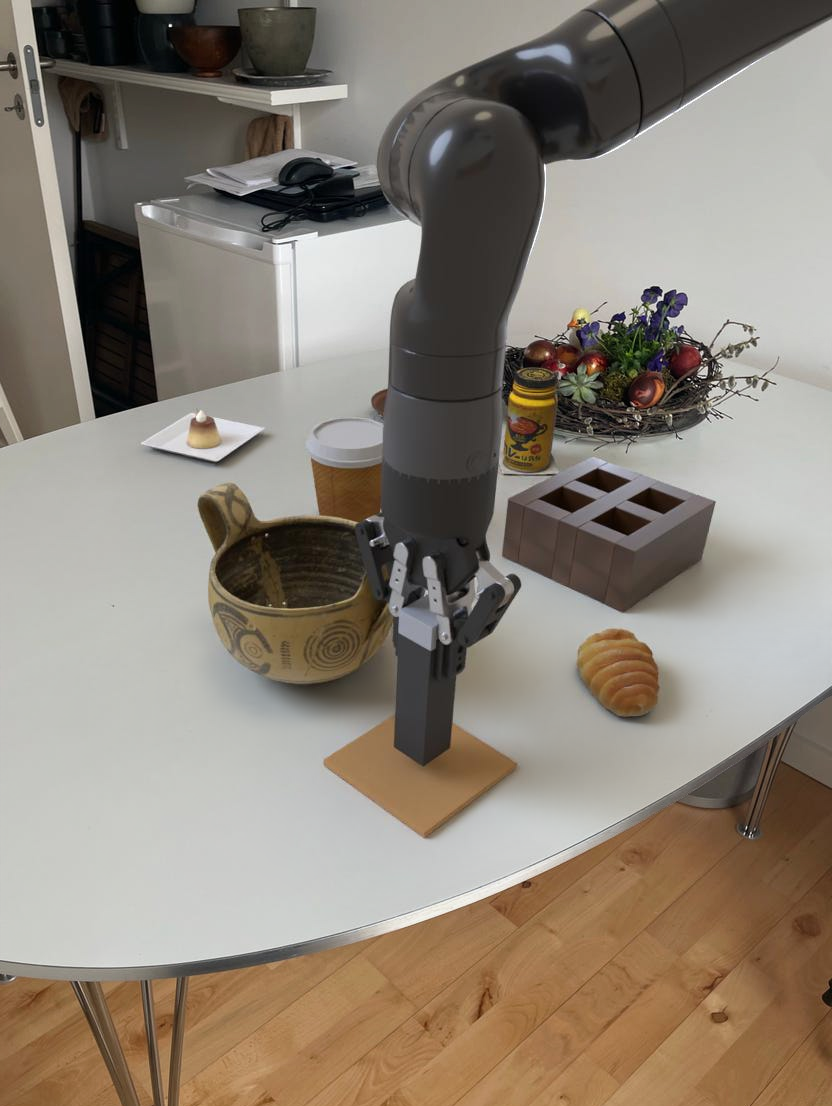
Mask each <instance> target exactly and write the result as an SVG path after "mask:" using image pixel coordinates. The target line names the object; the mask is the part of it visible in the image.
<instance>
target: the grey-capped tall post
mask: <svg viewBox="0 0 832 1106" xmlns="http://www.w3.org/2000/svg"><path fill="white" fill-rule="evenodd" d="M455 620H456V619H455V612H454V614H453V621H455ZM398 633H399V634H398V655H397V657H396V659H397V661H396V679H395V680H396V681H395V683H396V684H395V685H396V686H395V704H394V705H395V707H394V708H395V709H394V715H395V728H394V748H396V749H397V750H399V751H400V752H402V753H403V754H405V755H406V756H408V757H409V758H411V759H412V760H414V761H415V762H417V763H418V764H420V765H421V766H425V765H426V764H428V763H429V762H431V761H432V760H434V759H435V758H436V757H438V756H439V755H441V754H442V753H444V752H445V751H447V750H448V749H449V748H450V744H451V733H452V723H453V720H454V719H453V718H454V708H455V697H456V696H455V695H456V684H457V675H456V676H455V677H453V678H452V679H450V680H448V681H447V682H445V683H441V682H439V681H437V680H436V679H434V665H435V651H436V640H437V639H439V638H438V633H437V623H436V615H435V613H432V612H431V611H430V605H429V596H428V594H425V595H424V597H422V598H421V599H419V600H417V601H415V602H413V603H411V604H410V605H408V606H406V607H404V608H402V609H400V610H399V630H398Z"/></svg>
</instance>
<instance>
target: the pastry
mask: <svg viewBox="0 0 832 1106" xmlns="http://www.w3.org/2000/svg"><path fill="white" fill-rule="evenodd" d="M576 669H577V672H578V673H579V674H578V675H579V676H580V679H581V681H582V682H583V683H584V685H585V687H586V688H587V689H588V690H589V692H590V694H592V697H594V698H595V699H596V701H597V702H599V704H600V705H601V706H602V707H603V708H604V709H606V710H608V711H610V712H612V713H613V714H614V715H615V716H617V717H623V718H626V717H641V716H644V715H647V714H649V713H650V711H651V710H653V708H654V707H656V706H657V705H658V703H659V700H658V699H659V696H658V695H659V691H660V685H659V674H660V673H659V667H658V665H657V663H656V661H655V659H654V653H653V651H652V649H651V648H650V647H649V646H648V644H647V643H646V642H643V641H639V639H637V637H636V636H635V633H633V632H631V631H630V630H627V629H623V628H607V629H605V630H603V631H601V632H596V633H593V634H591V635H590V636H589V637H587V638H586V640H584V641H583V642H582V644H580V645H579V647H578V649H577V660H576Z"/></svg>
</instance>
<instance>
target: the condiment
mask: <svg viewBox="0 0 832 1106" xmlns="http://www.w3.org/2000/svg"><path fill="white" fill-rule="evenodd" d="M557 384H558V375H557V373H556V372H555V371H554V370H551V369H548V368H544V367H537V366H535V367H532V366H531V367H523V368H521V369H519V370H517V371H516V372H515V373H514V376H513V384H512V389H513V390H512V391H511V392H510V394H509V396H508V405H507V415H506V419H505V420H506V425H505V432H504V440H503V446H500V454H499V464H498V466H499V468H500V473H501V474H503V475H527V476H528V475H529V476H530V475H548V474H549V475H557V474H559V473H561V471H559V468H558V466H557V463H556V461H555V458H554V456H553V453H552V451H553V444H554V435H555V429H556V428H555V427H556V420H557V412H558V405H559V404H558V403H559V397H558V395H557V393H556V392H557V390H558V386H557Z"/></svg>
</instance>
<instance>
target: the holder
mask: <svg viewBox="0 0 832 1106" xmlns="http://www.w3.org/2000/svg"><path fill="white" fill-rule="evenodd" d="M716 502H717V501H716V500H713V499H711V498H708V497H706V496H702V495H700V494H696V493H695V492H694V493H693V492H691V491H689V490H685V489H682V488H680V487H677V486H674V485H672V484H669V483H667V482H664V481H660V480H658V479H656V478H653V477H650V476H647V475H645V474H642V473H638V472H636V471H633V470H631V469H627V468H625V467H623V466H620V465H616V464H614V463H611V462H608V461H605V460H603V459H600V458H597V457H594V456H591V457H589V458H587V459H585V460H583V461H580V462H579V463H577V464H575V465H572V466H571V467H569V468H566V469H564V470H563V471H560V473H559V474H554V475H553V476H551V477H548V478H547V479H544V480H543V481H541V482H539V483H536V484H535V485H532V486H531V487H528V488H527V489H525V490H522V491H520V492H519V493H516V494H514V495H512V496H510V497H509V498H507V505H506V516H505V523H504V534H503V541H502V551H501V557H503V558H504V559H507V560H508V561H511V562H513V563H515V564H518V565H520V566H522V567H525V568H527V569H528V570H531V571H533V572H535V573H537V574H539V575H542V576H543V577H545V578H548V579H550V580H551V581H554V582H556V583H558V584H560V585H563V586H565V587H567V588H569V589H571V590H574V591H576V592H578V593H581V595H584V596H587V597H589V598H591V599H592V600H593V599H594V600H595V601H598V602H599V603H601V604H604V605H606V606H608V607H610V608H612V609H614V610H616V611H619V612H620V613H625V612H626V611H627V610H629V609H630V608H632V607H633V606H635V605H637V604H638V603H639V602H641V601H642V600H644V599H645V598H647V597H649V595H652V593H655V591H657V590H659V589H660V588H661V587H663V586H664V585H666V584H668V583H669V582H670V581H672V580H673V579H675V578H676V577H677V576H678V577H679V575H681V574H682V573H684V572H685V571H686V570H688V569H689V568H691V567H692V566H693V565H696V564H697V563H698V562H700V561H701V560H702V559H703V555H704V552H705V551H704V550H705V547H706V543H707V539H708V535H709V532H710V527H711V524H712V520H713V515H714V511H715V508H716Z"/></svg>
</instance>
